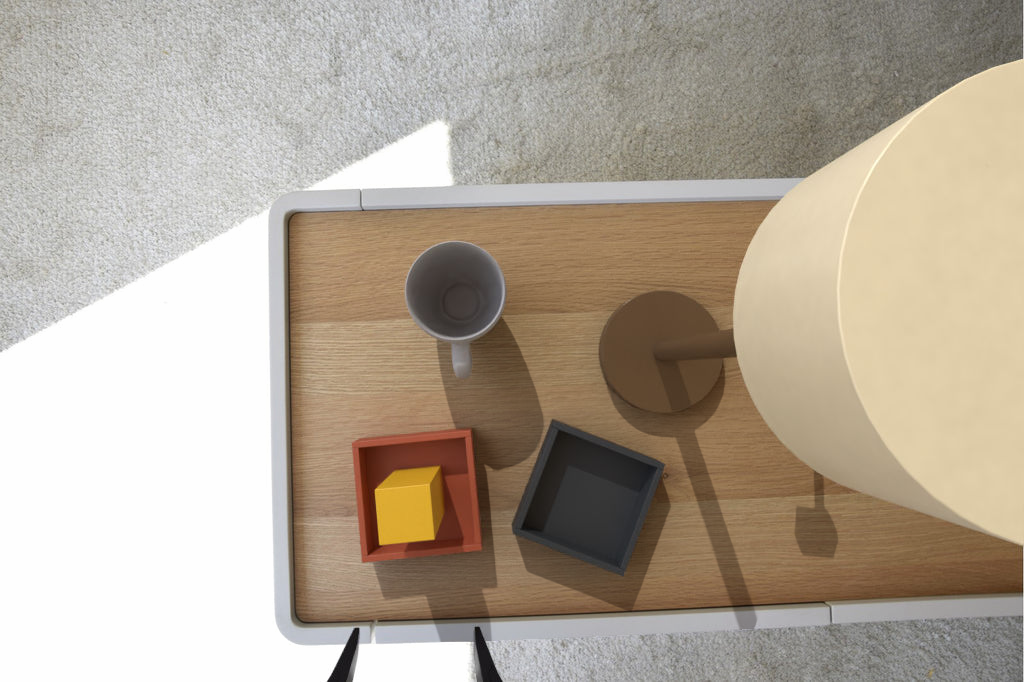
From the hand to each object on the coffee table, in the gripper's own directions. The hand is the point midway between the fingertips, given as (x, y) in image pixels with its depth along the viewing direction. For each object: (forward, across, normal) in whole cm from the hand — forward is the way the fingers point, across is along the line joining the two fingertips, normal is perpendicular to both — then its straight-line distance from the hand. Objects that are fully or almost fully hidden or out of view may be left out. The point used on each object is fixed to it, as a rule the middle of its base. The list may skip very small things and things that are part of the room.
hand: (417, 629), depth 51 cm
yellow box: (+15, 0, +2) cm, 15 cm away
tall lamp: (+24, -23, -10) cm, 34 cm away
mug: (+27, -3, -10) cm, 29 cm away
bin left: (+16, 0, +3) cm, 16 cm away
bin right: (+15, -16, +1) cm, 22 cm away
